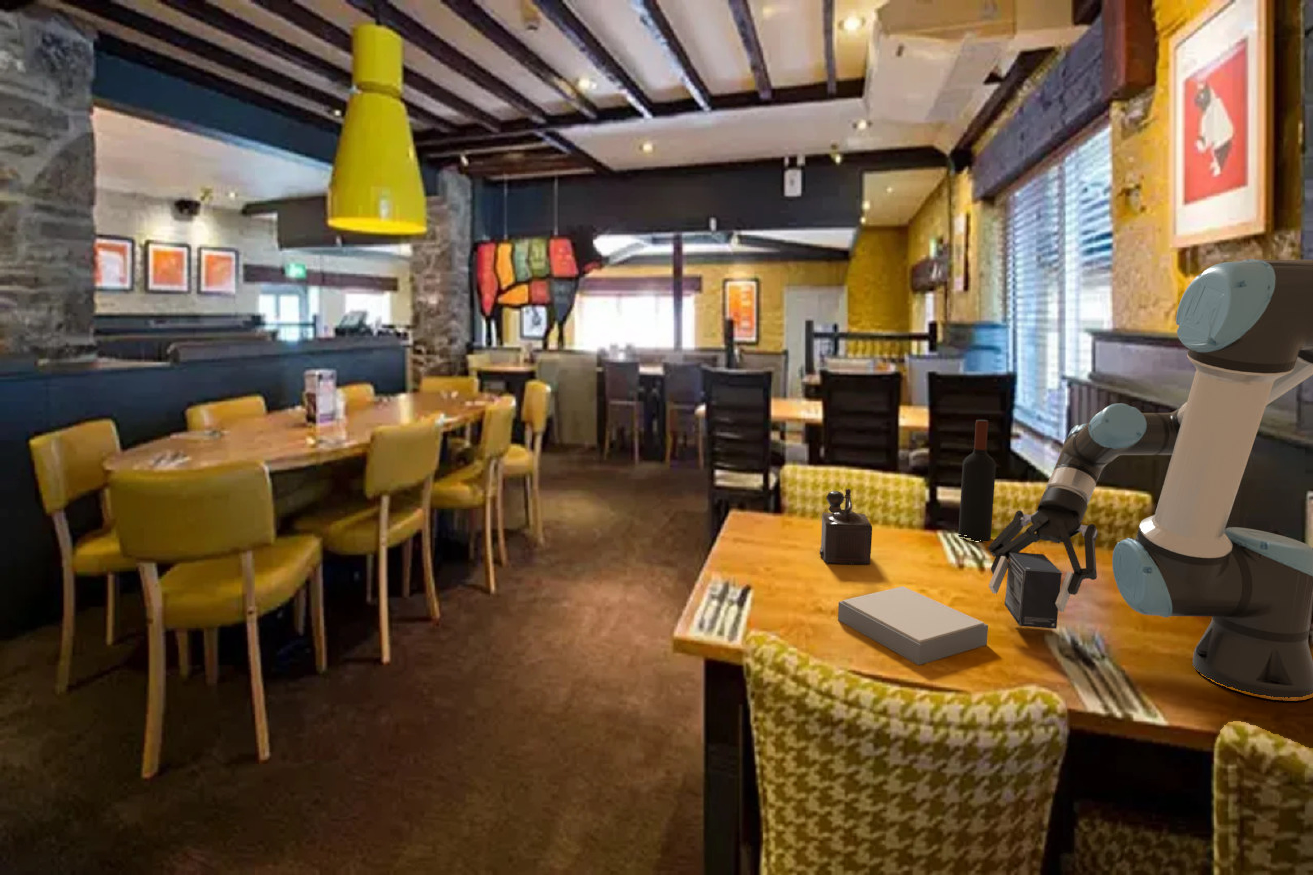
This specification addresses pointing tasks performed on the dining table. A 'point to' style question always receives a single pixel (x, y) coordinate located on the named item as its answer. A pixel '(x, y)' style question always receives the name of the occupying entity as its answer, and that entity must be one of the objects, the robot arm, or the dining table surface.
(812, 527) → the dining table surface
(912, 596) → the stand
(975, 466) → the wine bottle
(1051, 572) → the small box
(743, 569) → the dining table surface
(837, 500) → the pepper mill
